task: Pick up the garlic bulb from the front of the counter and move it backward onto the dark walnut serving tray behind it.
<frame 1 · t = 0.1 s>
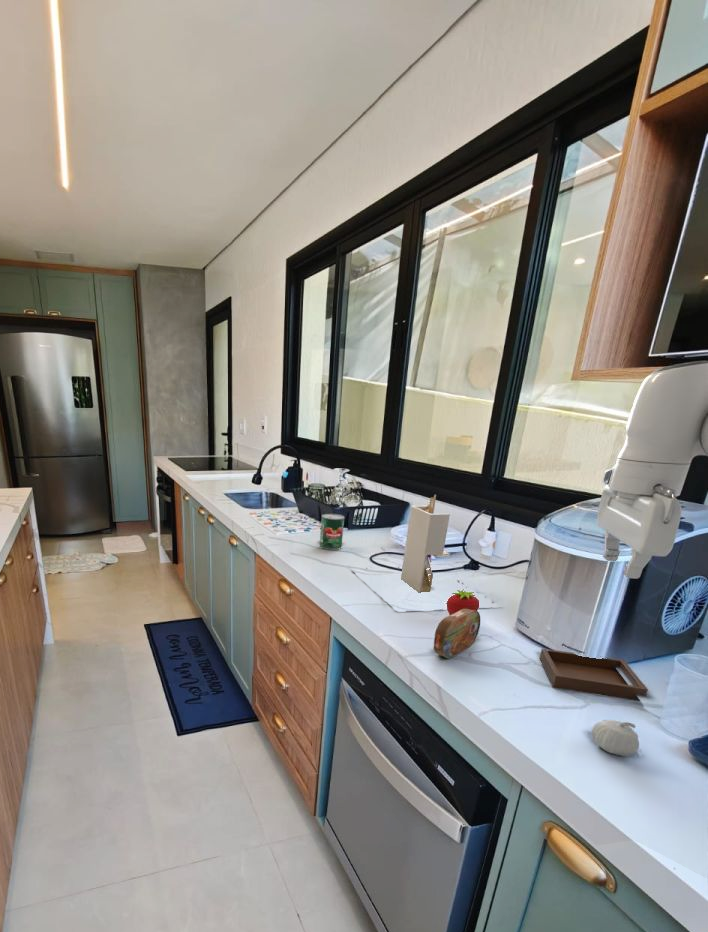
hand: (619, 568, 81), 24 cm above the countertop, tool pointing down, fingers open, 8 cm apart
strawberry: (458, 626, 118), on the countertop
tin: (453, 651, 106), on the countertop
tray: (587, 678, 96), on the countertop
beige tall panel: (418, 587, 143), on the countertop
canned tomato: (330, 547, 179), on the countertop
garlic: (611, 750, 76), on the countertop
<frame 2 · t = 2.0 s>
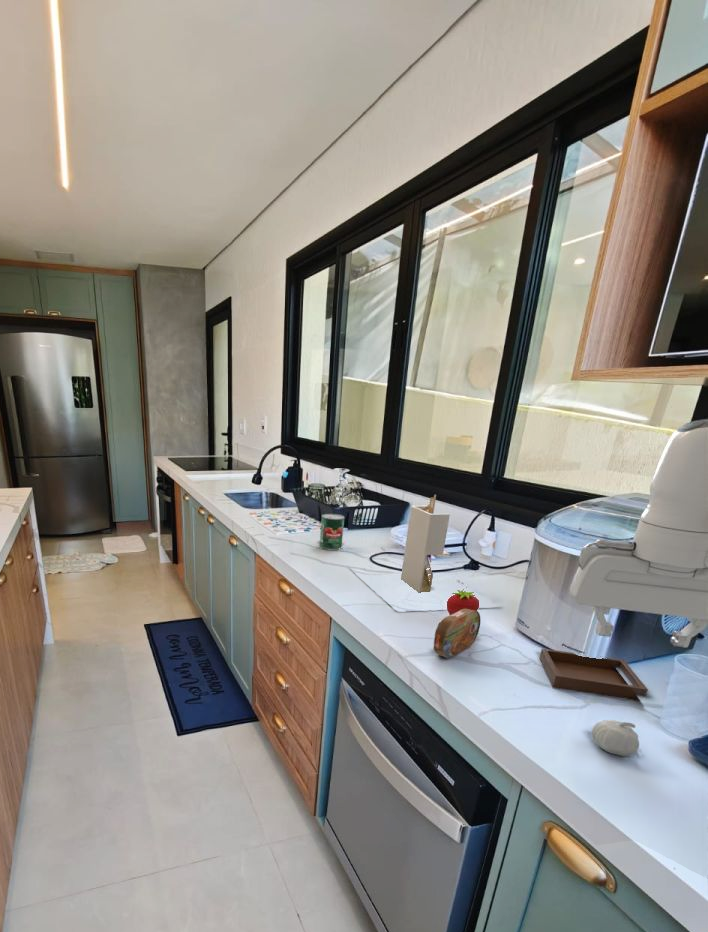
hand: (639, 639, 72), 17 cm above the countertop, tool pointing down, fingers open, 8 cm apart
nothing on the countertop moved.
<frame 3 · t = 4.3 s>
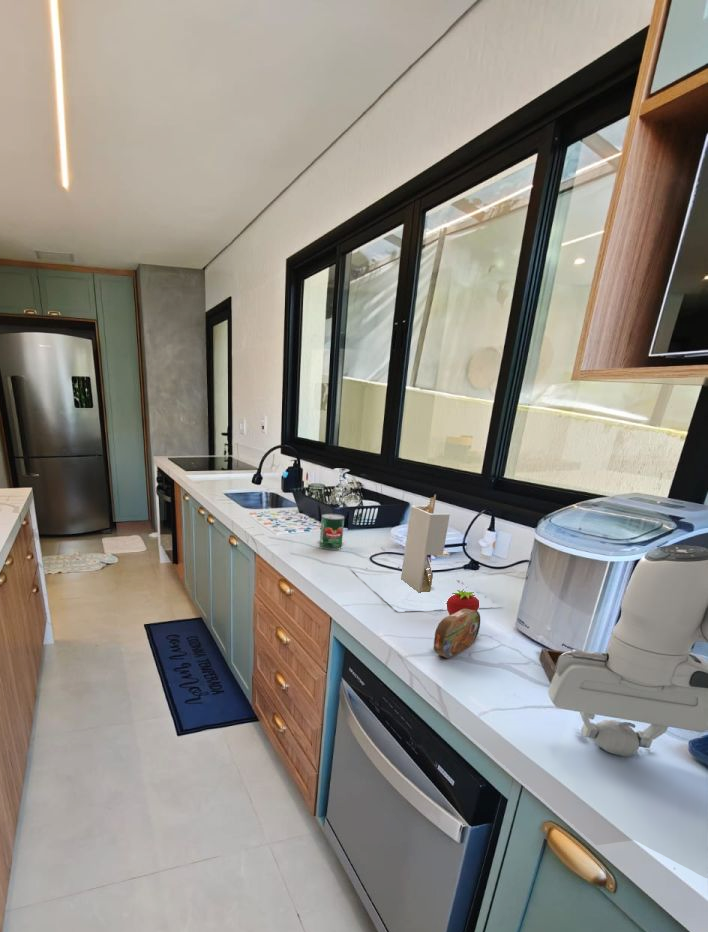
hand: (614, 740, 76), 2 cm above the countertop, tool pointing down, fingers closed on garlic, 5 cm apart
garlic: (611, 750, 76), on the countertop, touching gripper
everything else where it was.
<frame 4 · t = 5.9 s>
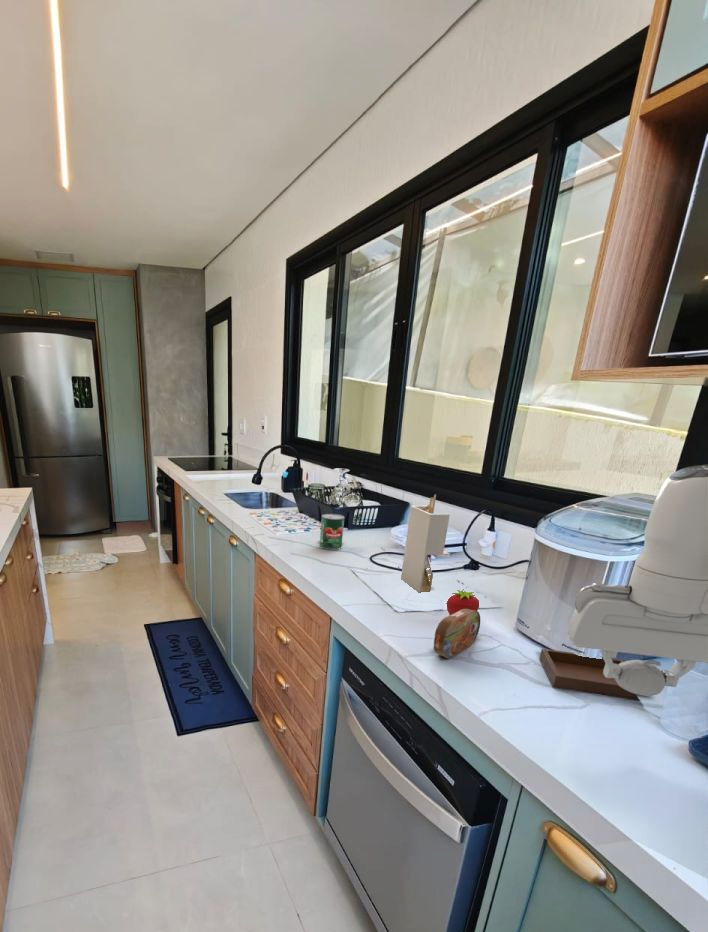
hand: (638, 680, 72), 12 cm above the countertop, tool pointing down, fingers closed on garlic, 5 cm apart
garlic: (634, 691, 73), point 10 cm above the countertop, touching gripper
everything else where it was.
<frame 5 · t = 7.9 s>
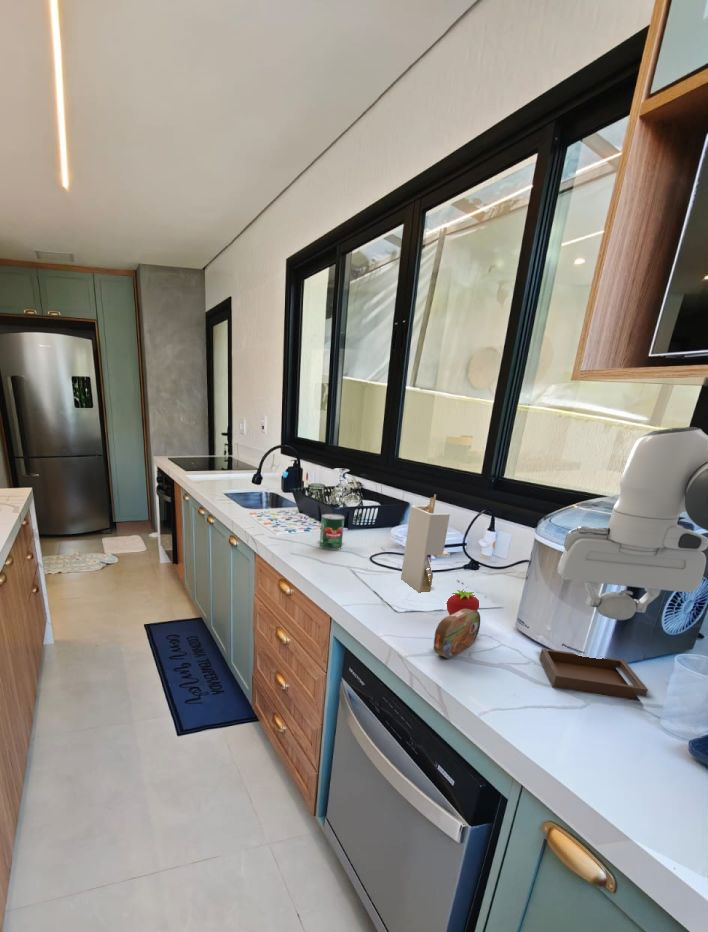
hand: (615, 608, 88), 16 cm above the countertop, tool pointing down, fingers closed on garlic, 5 cm apart
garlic: (612, 618, 89), point 14 cm above the countertop, touching gripper
everything else where it was.
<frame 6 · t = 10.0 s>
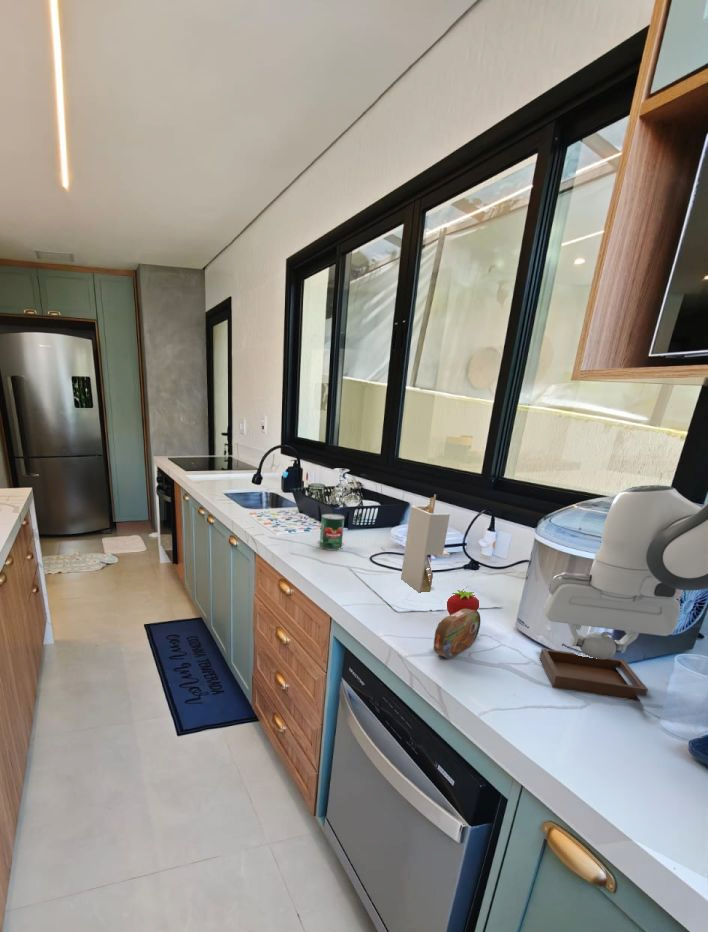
hand: (596, 648, 94), 7 cm above the countertop, tool pointing down, fingers closed on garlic, 5 cm apart
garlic: (594, 656, 94), point 5 cm above the countertop, touching gripper
everything else where it was.
when the fingers open (2 cm above the countertop, at t = 11.6 s): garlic stays where it is, resting on tray.
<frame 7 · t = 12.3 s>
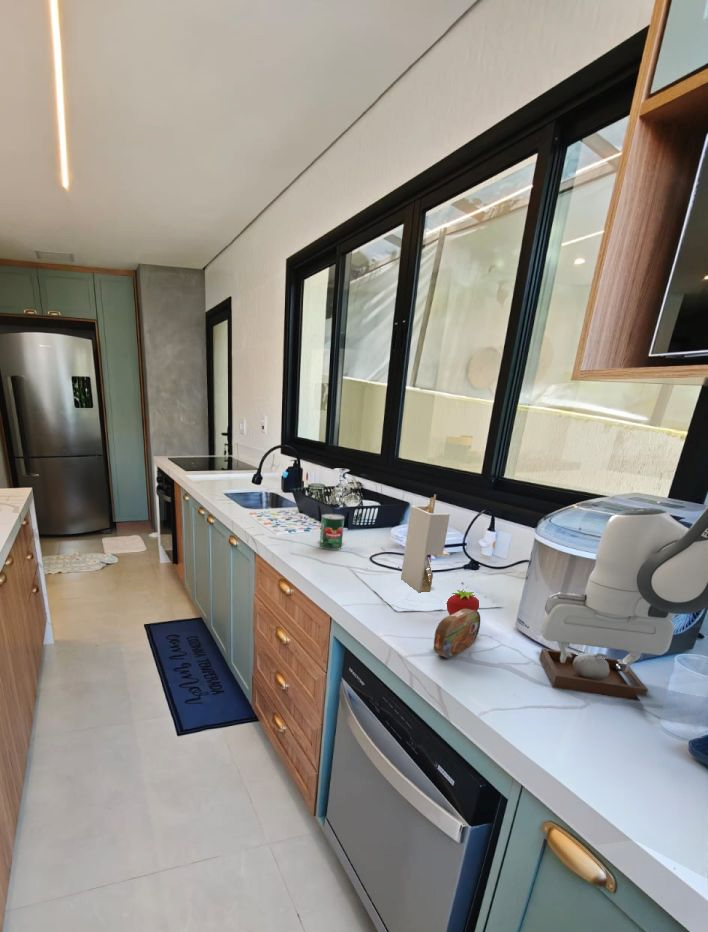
hand: (592, 666, 95), 3 cm above the countertop, tool pointing down, fingers open, 8 cm apart
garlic: (588, 677, 96), resting on tray
everything else where it was.
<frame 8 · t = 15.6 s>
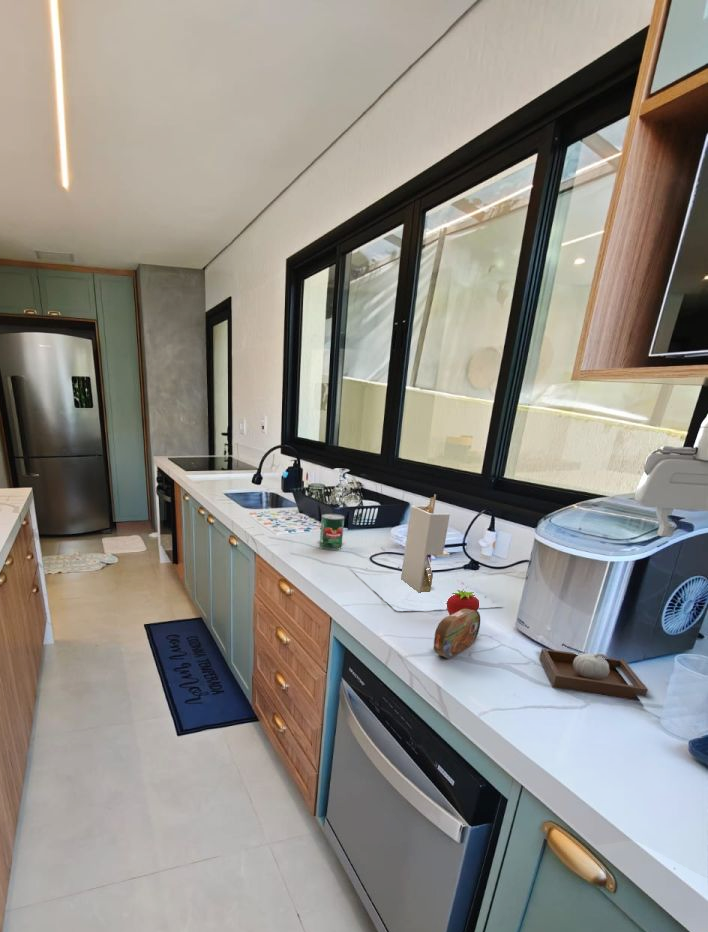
hand: (698, 538, 81), 29 cm above the countertop, tool pointing down, fingers open, 8 cm apart
nothing on the countertop moved.
at the end: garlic inside the target area in the tray (0.1 cm from its centre), point 0.3 cm above the tray's base; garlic moved 23.1 cm from its start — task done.
